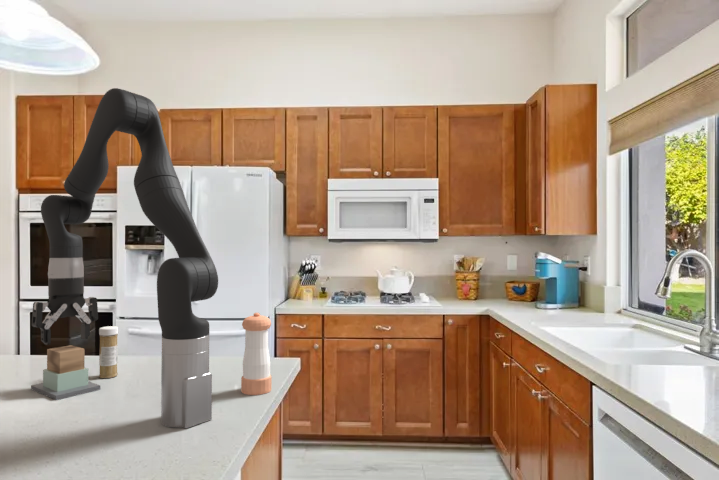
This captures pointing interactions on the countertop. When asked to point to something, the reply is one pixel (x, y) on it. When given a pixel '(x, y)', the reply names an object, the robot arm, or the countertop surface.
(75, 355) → the walnut brick
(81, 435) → the countertop surface
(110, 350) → the sprinkles bottle
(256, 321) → the salt shaker
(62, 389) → the build plate
